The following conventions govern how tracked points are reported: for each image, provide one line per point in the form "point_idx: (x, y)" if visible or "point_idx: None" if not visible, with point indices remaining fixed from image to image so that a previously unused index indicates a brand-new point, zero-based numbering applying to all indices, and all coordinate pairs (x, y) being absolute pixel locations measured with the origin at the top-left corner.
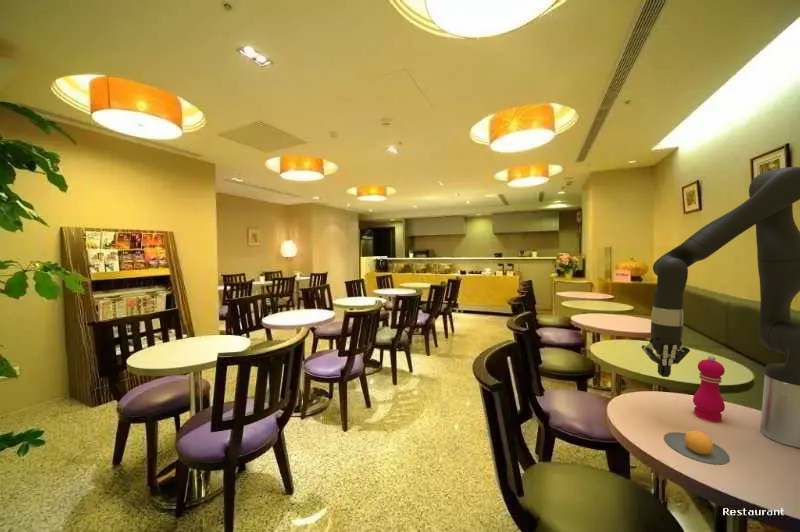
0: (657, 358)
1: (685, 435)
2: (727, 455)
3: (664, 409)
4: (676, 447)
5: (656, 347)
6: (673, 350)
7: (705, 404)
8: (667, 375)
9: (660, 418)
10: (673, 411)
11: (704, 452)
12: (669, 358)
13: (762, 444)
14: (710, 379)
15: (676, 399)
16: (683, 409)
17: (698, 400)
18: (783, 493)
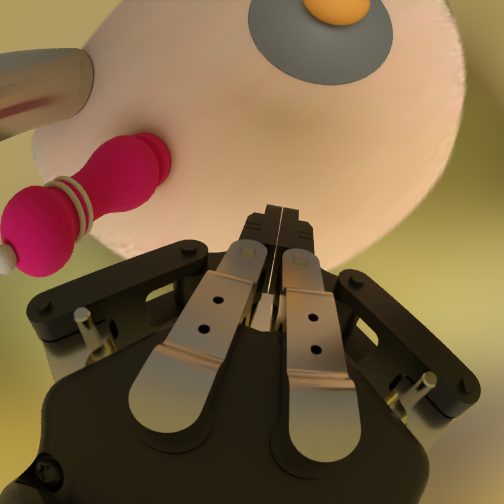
0: (371, 305)
1: (362, 15)
2: None
3: (235, 203)
4: (379, 28)
5: (399, 419)
6: (195, 351)
7: (142, 153)
8: (275, 209)
9: (293, 158)
10: (217, 190)
11: None
12: (256, 284)
13: (126, 44)
14: (71, 191)
15: (161, 246)
16: (180, 198)
17: (148, 173)
18: None
